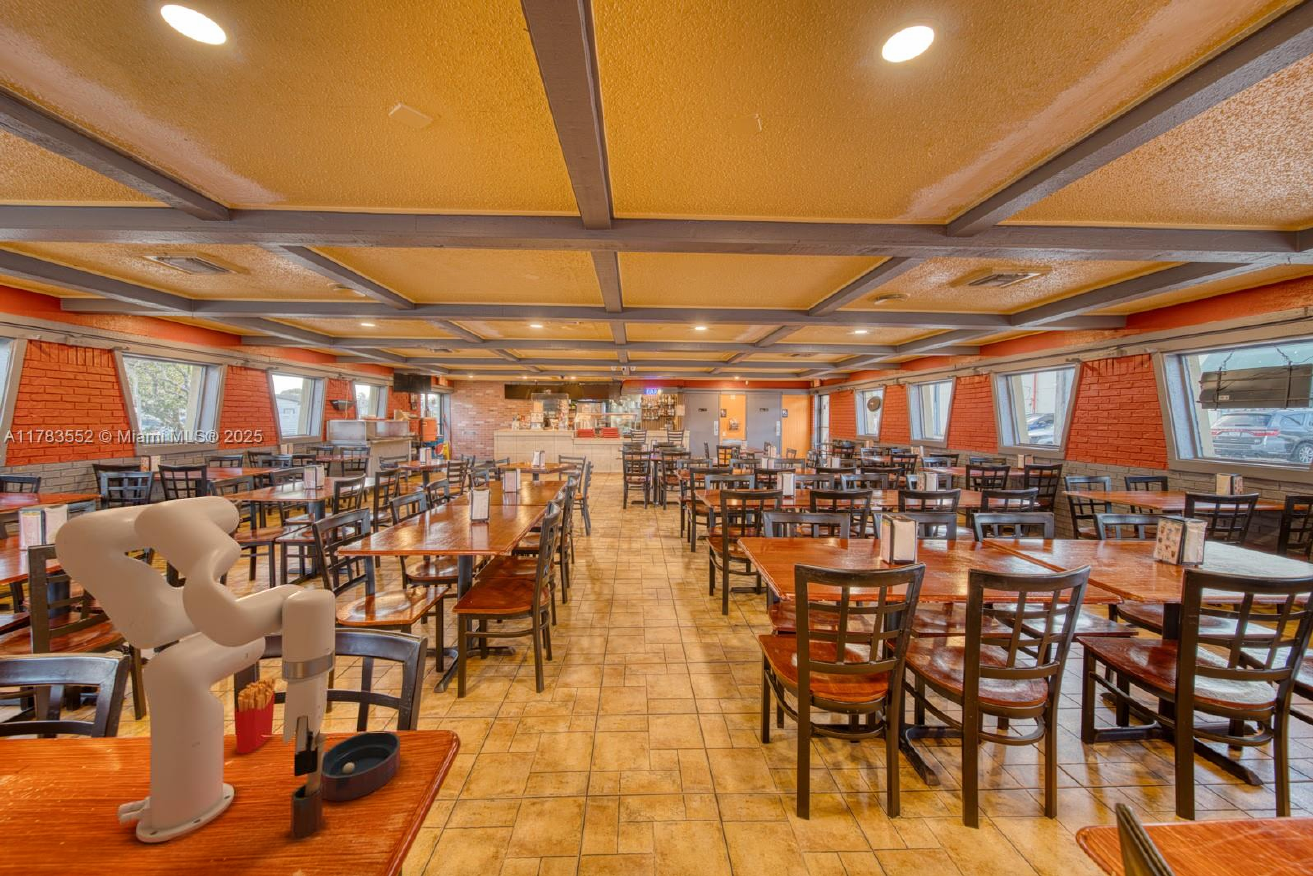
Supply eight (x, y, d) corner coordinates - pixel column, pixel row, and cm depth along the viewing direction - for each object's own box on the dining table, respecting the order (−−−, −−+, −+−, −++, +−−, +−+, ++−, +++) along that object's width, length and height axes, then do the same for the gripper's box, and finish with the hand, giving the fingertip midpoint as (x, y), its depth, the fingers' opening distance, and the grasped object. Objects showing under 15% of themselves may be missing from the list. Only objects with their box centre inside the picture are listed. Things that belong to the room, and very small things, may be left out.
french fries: (248, 756, 101) (249, 696, 101) (228, 756, 101) (229, 696, 101) (280, 730, 110) (281, 674, 110) (262, 730, 110) (262, 674, 110)
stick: (298, 833, 81) (311, 738, 82) (301, 825, 83) (314, 731, 83) (312, 830, 82) (325, 736, 82) (314, 822, 83) (327, 730, 84)
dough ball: (341, 778, 94) (342, 768, 94) (343, 772, 96) (343, 762, 96) (353, 775, 95) (353, 765, 95) (354, 769, 97) (355, 759, 97)
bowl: (310, 814, 85) (310, 787, 86) (323, 766, 98) (324, 742, 98) (399, 788, 92) (399, 763, 92) (401, 746, 105) (401, 724, 105)
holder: (288, 845, 79) (288, 803, 79) (294, 826, 83) (294, 786, 83) (319, 835, 81) (320, 794, 81) (324, 817, 85) (324, 778, 85)
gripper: (292, 649, 88) (291, 747, 87) (269, 690, 73) (267, 807, 73) (340, 641, 91) (339, 736, 91) (327, 679, 77) (325, 791, 77)
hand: (307, 767), depth 82 cm, fingers closed on stick, 2 cm apart
